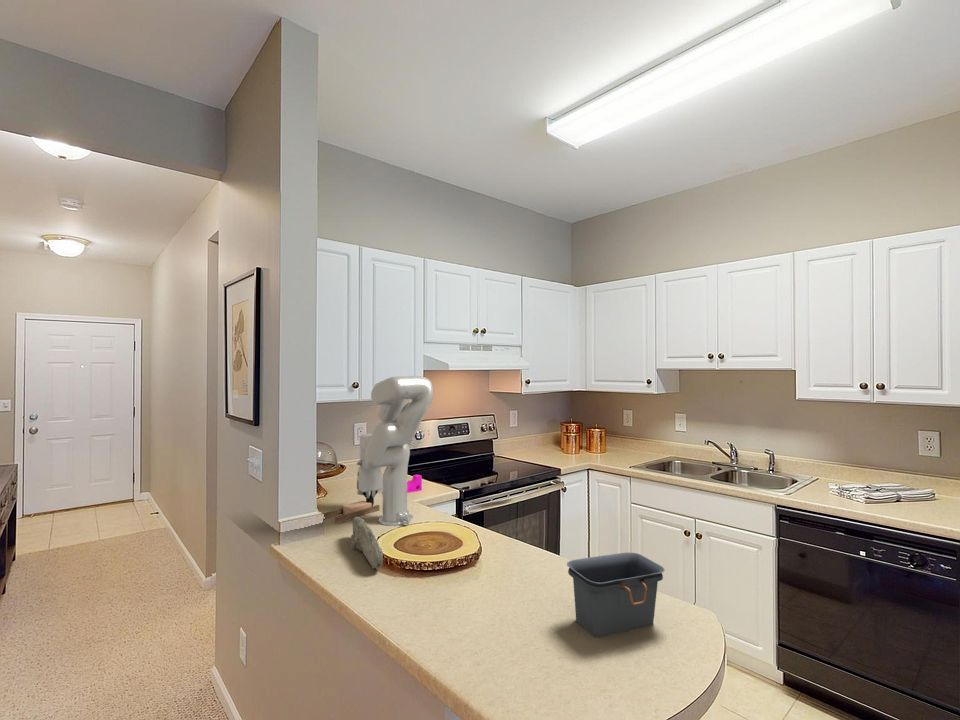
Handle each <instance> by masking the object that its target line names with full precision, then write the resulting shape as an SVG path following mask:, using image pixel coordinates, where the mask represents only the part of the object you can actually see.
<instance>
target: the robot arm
mask: <svg viewBox="0 0 960 720" xmlns="http://www.w3.org/2000/svg"><path fill="white" fill-rule="evenodd" d="M370 398H371V401H372V403H373V404H374V405H376V406H380V407H379V411H378V412H377V415H378V416H377V417H378V419H379V420H380V422H379V423H378V424H377V425H376V426H375V427H374V429H373V431H372V433H363V434H361V435H360V436H359V461H356V466H359V467H358V469H357V474H356V489H357V491H356V494H357V495H359V496H364V497H365V501H366V502H367V503H368V502H369V503H372V506H375V502H374V501H375V500H374V499H375V497H376V495H377V494H378V493H380V492H382V515H381V516H380V517H379V518H378V523H379V524H380V525H383V526H387V527H388V526H390V527H397V526H402V525H407V524H409V523H410V522H412V519H413V518H414V514H411V513H410V510H409V509H408V493H407V482H408V467H409V466H408V465H409V461H410V455H411V449H410V446H409V443H411V442H412V441H413V440H414V438H415V436H416V434H417V431H418V429H419V427H420V425H421V424H422V423H421V422H422V420H423V418H424V416H425V415H426V413H427V411H428V410H429V409H430V408H431V407H430V406H431V404H432V402H433V398H434V387H433V383H432V381H431V380H430V379H428V377H424V376H420V375H419V376H418V375H404V376H402V375H401V376H392V377H391V376H390V377H388V378H386V379H384V380H381V381H379V382H377V383H376V384H374V386H373V387H372V389H371V392H370ZM407 400H409V401H408V402H407ZM406 402H407V403H406ZM382 468H385V469H384V471H383V473H382Z"/></svg>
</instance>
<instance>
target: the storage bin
mask: <svg viewBox="0 0 960 720" xmlns="http://www.w3.org/2000/svg"><path fill="white" fill-rule="evenodd" d="M566 566H567V567H568V569H567V571H568V575H569V576H570V577H572V579H573V580H572V581H573V593H574V596H573V597H574V608H575V622H577V624H579V625H580V626H581V627H582V628H583V629H584V630H585V631H586V632H588V633H589V634H590V635H591V636H592V637H593V638H597V639H599V638H604V637H607V636H612V635H615V634H618V633H623V632H628V631H631V630H635V629H640V628H643V627H648V626H652V625H654V619H655V611H656V602H657V601H656V600H657V593H658V583H659V582H660V581H662V580H664V575H663V573H664V572H665V568H664V566H662V565H661V564H659V563H657V562H655V561H653V560H652V559H649V558H648V557H646V556H644V555H643V554H640V553H636V552H620V553H612V554H611V553H610V554H605V555H599V556H592V557H591V556H590V557H583V558H578V559H571V560H569V561H567V562H566Z"/></svg>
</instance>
